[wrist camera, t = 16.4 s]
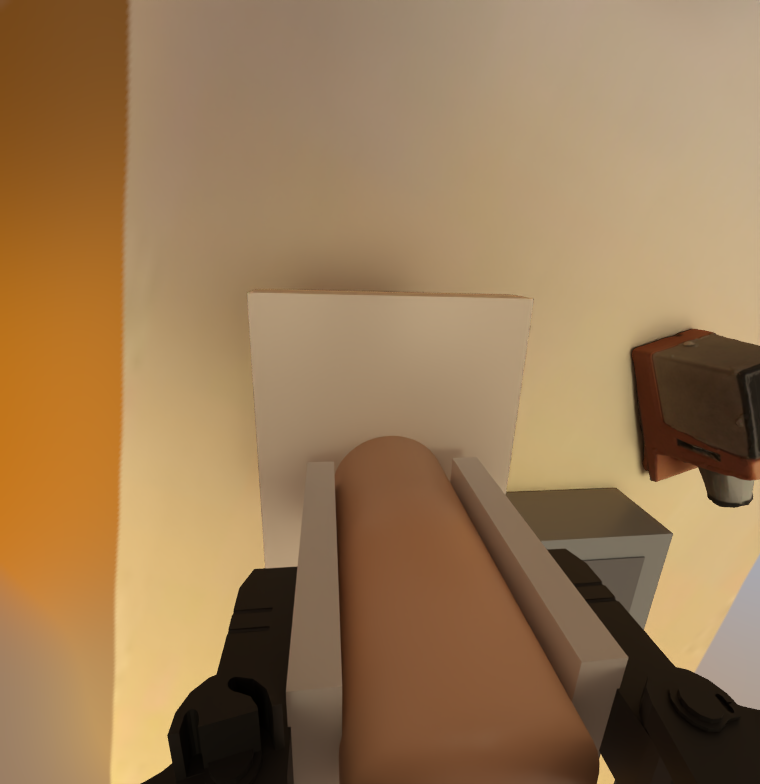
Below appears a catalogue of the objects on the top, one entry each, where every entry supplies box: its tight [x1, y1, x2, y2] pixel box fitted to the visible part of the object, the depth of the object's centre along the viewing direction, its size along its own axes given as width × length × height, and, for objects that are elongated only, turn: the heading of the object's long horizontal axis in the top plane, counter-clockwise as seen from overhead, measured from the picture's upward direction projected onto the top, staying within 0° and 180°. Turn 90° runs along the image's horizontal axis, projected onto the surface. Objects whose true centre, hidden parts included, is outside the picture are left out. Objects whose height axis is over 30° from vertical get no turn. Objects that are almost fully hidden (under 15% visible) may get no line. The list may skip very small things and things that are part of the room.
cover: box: [247, 289, 599, 784], centre depth 10 cm, size 12×8×10 cm, turn 179°
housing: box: [506, 488, 673, 630], centre depth 27 cm, size 16×21×5 cm
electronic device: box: [632, 329, 760, 508], centre depth 23 cm, size 4×10×8 cm, turn 18°
